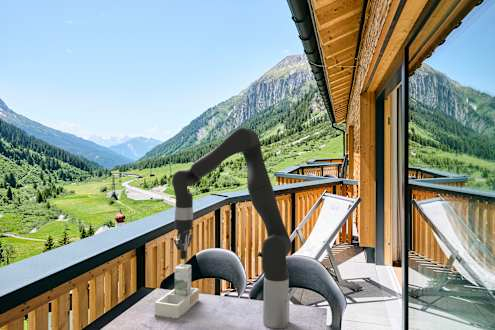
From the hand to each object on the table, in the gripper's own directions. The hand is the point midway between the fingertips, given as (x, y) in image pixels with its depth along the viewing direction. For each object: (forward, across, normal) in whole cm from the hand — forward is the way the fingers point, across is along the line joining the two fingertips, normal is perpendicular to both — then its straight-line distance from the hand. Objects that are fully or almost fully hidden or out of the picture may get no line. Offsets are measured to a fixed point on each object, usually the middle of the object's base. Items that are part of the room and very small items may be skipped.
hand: (183, 258), depth 152 cm
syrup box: (+18, 0, 0) cm, 18 cm away
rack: (+19, -4, 0) cm, 19 cm away
